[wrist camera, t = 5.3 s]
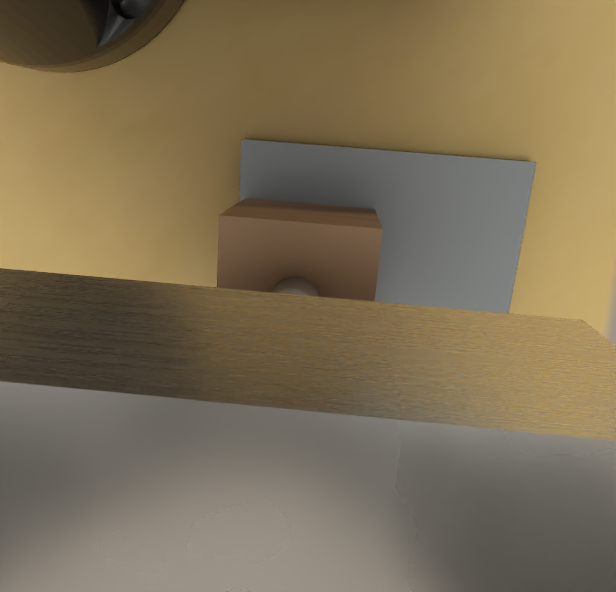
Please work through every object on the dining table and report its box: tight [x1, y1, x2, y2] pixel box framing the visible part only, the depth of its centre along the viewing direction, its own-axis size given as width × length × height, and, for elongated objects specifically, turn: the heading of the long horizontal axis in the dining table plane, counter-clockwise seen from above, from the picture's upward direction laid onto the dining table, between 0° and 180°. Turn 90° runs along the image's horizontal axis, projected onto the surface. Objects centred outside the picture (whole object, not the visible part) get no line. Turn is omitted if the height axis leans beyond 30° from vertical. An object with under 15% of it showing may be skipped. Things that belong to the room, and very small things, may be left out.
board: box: [239, 139, 536, 314], centre depth 30 cm, size 20×14×1 cm
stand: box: [217, 198, 383, 302], centre depth 24 cm, size 6×6×10 cm
